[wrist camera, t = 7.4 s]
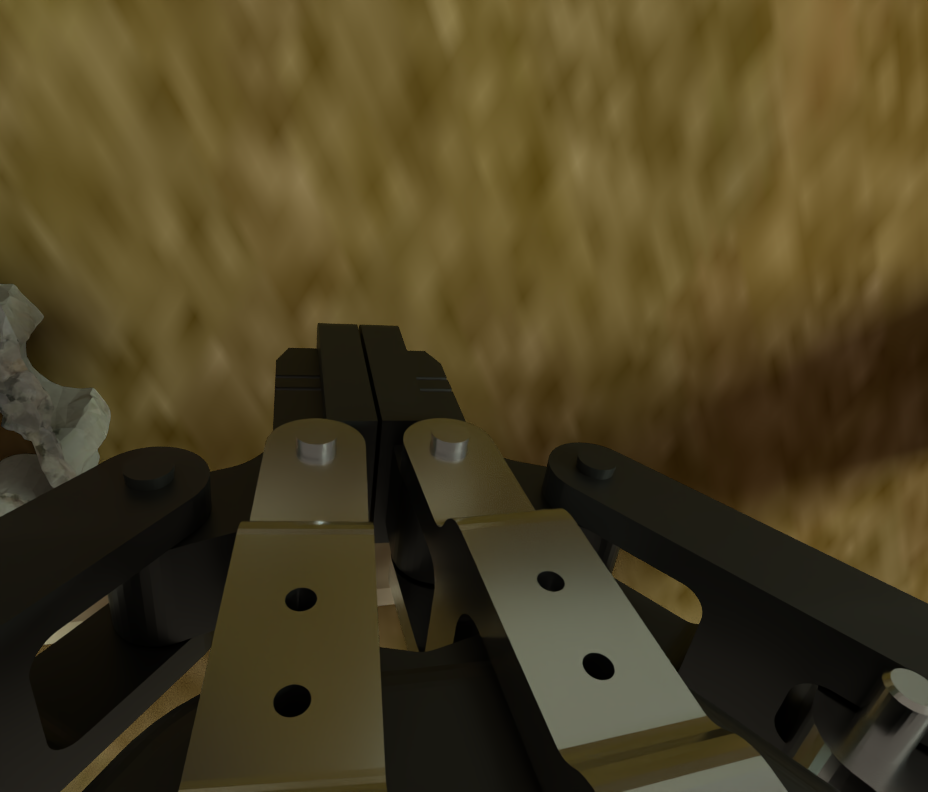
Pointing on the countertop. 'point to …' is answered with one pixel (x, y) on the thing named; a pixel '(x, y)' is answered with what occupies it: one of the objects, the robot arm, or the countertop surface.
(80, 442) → the egg carton
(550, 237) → the countertop surface
